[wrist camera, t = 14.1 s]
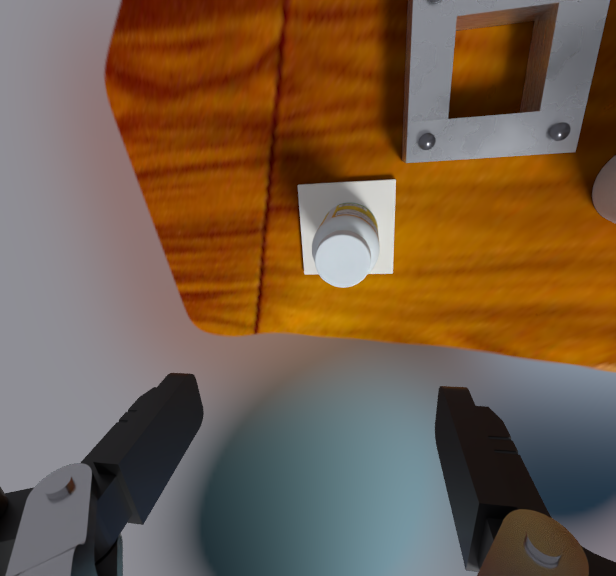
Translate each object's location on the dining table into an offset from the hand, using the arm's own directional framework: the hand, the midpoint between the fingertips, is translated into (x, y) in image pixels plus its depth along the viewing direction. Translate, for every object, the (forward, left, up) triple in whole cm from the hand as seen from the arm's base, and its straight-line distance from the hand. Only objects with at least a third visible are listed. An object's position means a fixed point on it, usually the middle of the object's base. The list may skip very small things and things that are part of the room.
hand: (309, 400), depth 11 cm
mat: (0, 0, -24) cm, 24 cm away
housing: (-11, -12, -24) cm, 29 cm away
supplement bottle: (0, 0, -24) cm, 24 cm away
